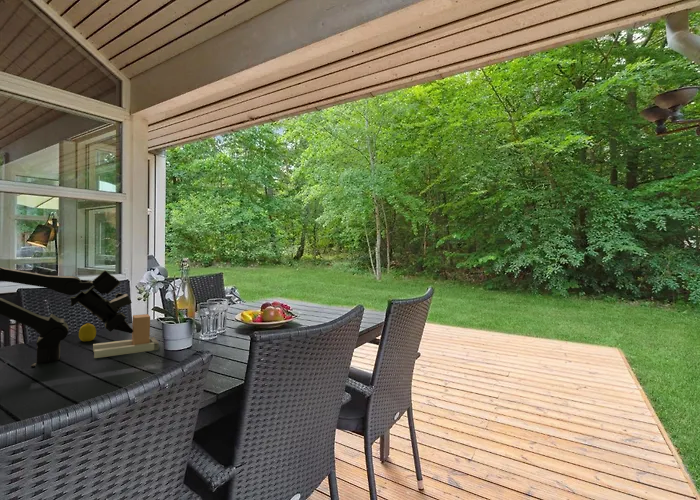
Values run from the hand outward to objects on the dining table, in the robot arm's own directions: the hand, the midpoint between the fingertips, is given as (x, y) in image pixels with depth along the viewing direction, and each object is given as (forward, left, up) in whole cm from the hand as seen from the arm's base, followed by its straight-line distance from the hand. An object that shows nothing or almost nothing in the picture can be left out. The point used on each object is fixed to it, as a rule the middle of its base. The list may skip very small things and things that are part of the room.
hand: (132, 332), depth 131 cm
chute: (-1, +2, -8) cm, 8 cm away
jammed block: (+1, -2, -6) cm, 7 cm away
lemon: (+12, +21, -8) cm, 25 cm away
